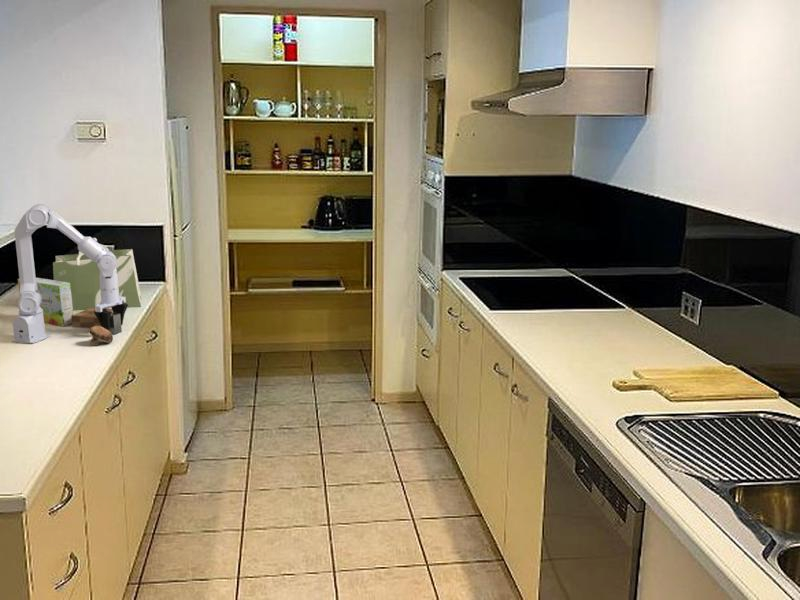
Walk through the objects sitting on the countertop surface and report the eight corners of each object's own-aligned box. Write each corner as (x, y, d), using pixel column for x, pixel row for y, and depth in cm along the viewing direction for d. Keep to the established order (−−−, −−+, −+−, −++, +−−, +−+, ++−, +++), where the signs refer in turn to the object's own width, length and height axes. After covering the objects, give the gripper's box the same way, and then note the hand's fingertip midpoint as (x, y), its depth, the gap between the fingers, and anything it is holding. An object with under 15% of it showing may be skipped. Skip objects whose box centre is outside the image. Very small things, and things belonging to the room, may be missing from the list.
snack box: (21, 319, 295) (16, 278, 291) (34, 316, 300) (30, 275, 296) (62, 327, 285) (58, 284, 282) (75, 323, 290) (71, 281, 286)
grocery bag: (50, 312, 305) (44, 250, 300) (56, 303, 318) (50, 244, 313) (141, 307, 313) (136, 247, 308) (142, 299, 326) (138, 241, 321)
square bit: (114, 335, 276) (113, 316, 275) (104, 334, 277) (102, 315, 276) (121, 331, 280) (120, 313, 278) (111, 331, 281) (109, 312, 279)
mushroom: (81, 338, 260) (91, 321, 262) (84, 341, 268) (94, 324, 270) (105, 349, 262) (115, 332, 263) (107, 352, 269) (117, 335, 271)
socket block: (102, 329, 283) (101, 318, 282) (72, 326, 286) (71, 315, 285) (122, 320, 294) (121, 309, 293) (93, 318, 297) (92, 307, 296)
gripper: (107, 294, 267) (110, 334, 270) (132, 284, 281) (135, 323, 284) (88, 292, 269) (91, 332, 272) (114, 283, 282) (117, 321, 286)
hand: (112, 327), depth 278 cm, fingers open, 7 cm apart
